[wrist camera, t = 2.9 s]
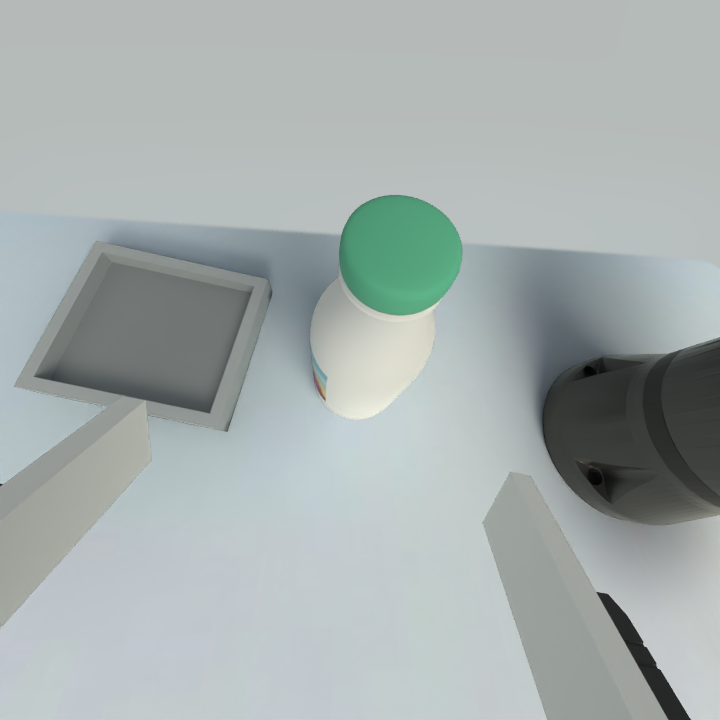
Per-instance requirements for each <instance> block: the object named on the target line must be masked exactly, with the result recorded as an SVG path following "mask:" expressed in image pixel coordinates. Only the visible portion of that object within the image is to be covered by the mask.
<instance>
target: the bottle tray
mask: <svg viewBox="0 0 720 720" xmlns="http://www.w3.org/2000/svg"><path fill="white" fill-rule="evenodd" d="M271 295H272V290H271V287H270V284H269V281H268V279H264V278H260V277H255V276H251V275H246V274H242V273H238V272H233V271H229V270H224V269H220V268H215V267H211V266H206V265H202V264H197V263H193V262H188V261H184V260H180V259H175V258H171V257H166V256H162V255H157V254H153V253H148V252H144V251H139V250H135V249H131V248H126V247H122V246H117V245H113V244H108V243H104V242H99V241H96V242H95V243H94V245H93V247H92V249H91V250H90V252H89V254H88V256H87V257H86V259H85V261H84V263H83V265H82V266H81V268H80V270H79V272H78V273H77V275H76V277H75V279H74V280H73V282H72V284H71V286H70V288H69V289H68V291H67V293H66V295H65V296H64V298H63V300H62V302H61V303H60V305H59V307H58V309H57V310H56V312H55V314H54V316H53V318H52V319H51V321H50V323H49V325H48V326H47V328H46V330H45V332H44V333H43V335H42V337H41V339H40V341H39V342H38V344H37V346H36V348H35V349H34V351H33V353H32V355H31V356H30V358H29V360H28V362H27V364H26V365H25V367H24V369H23V371H22V372H21V374H20V376H19V378H18V379H17V381H16V383H15V385H14V387H18V388H22V389H26V390H30V391H34V392H38V393H43V394H47V395H52V396H57V397H62V398H67V399H72V400H76V401H81V402H86V403H91V404H96V405H101V406H105V407H109V406H110V405H112V404H113V403H114V402H116V401H117V400H118V399H120V398H121V397H123V396H125V397H131V398H136V399H141V400H145V401H146V410H147V415H149V416H154V417H159V418H163V419H168V420H173V421H178V422H183V423H188V424H193V425H197V426H202V427H207V428H212V429H217V430H222V431H226V432H227V431H228V428H229V425H230V422H231V419H232V416H233V412H234V409H235V406H236V403H237V400H238V397H239V394H240V391H241V388H242V385H243V382H244V379H245V375H246V372H247V369H248V366H249V363H250V360H251V357H252V354H253V351H254V348H255V345H256V342H257V338H258V335H259V332H260V329H261V326H262V323H263V320H264V317H265V314H266V311H267V308H268V305H269V301H270V298H271Z"/></svg>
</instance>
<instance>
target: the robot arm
mask: <svg viewBox="0 0 720 720" xmlns="http://www.w3.org/2000/svg"><path fill="white" fill-rule="evenodd" d="M543 427H544V434H545V439H546V444H547V447H548V450H549V453H550V455H551V458H552V460H553V462H554V464H555V466H556V468H557V469H558V471H559V473H560V474H561V476H562V477H563V479H564V480H565V481H566V483H567V484H568V485H569V486H570V487H571V489H572V490H573V491H574V492H575V493H576V494H577V495H578V496H579V497H580V498H582V499H583V500H584V501H585V502H586V503H588V504H589V505H591V506H592V507H594V508H595V509H597V510H599V511H600V512H602V513H604V514H606V515H609V516H611V517H614V518H617V519H621V520H626V521H631V522H637V523H642V524H648V525H669V524H675V523H681V522H686V521H691V520H696V519H701V518H706V517H712V516H717V515H720V337H719V338H716V339H713V340H710V341H707V342H703V343H700V344H697V345H694V346H691V347H688V348H685V349H682V350H679V351H676V352H672V353H669V354H639V355H609V356H602V357H598V358H594V359H591V360H588V361H586V362H583V363H581V364H578V365H576V366H574V367H572V368H570V369H568V370H567V371H565V372H564V373H563V374H561V375H560V376H559V377H558V379H557V380H556V381H555V382H554V384H553V385H552V387H551V389H550V391H549V393H548V395H547V398H546V402H545V406H544V413H543ZM151 460H152V456H151V447H150V438H149V429H148V419H147V410H146V401H145V400H141V399H136V398H131V397H125V396H123V397H121V398H120V399H118V400H117V401H116V402H114V403H113V404H112V405H110V406H109V407H108V408H106V409H105V410H104V411H102V412H101V413H99V414H98V415H97V416H95V417H94V418H93V419H91V420H90V421H89V422H87V423H86V424H85V425H83V426H82V427H80V428H79V429H78V430H76V431H75V432H74V433H72V434H71V435H70V436H68V437H67V438H66V439H64V440H63V441H61V442H60V443H59V444H57V445H56V446H55V447H53V448H52V449H51V450H49V451H48V452H47V453H45V454H44V455H42V456H41V457H40V458H38V459H37V460H36V461H34V462H33V463H32V464H30V465H29V466H28V467H26V468H25V469H24V470H22V471H21V472H19V473H18V474H17V475H15V476H14V477H13V478H11V479H10V480H9V481H7V482H6V483H5V484H0V628H1V627H2V626H3V625H4V624H5V623H6V622H7V621H8V619H9V618H10V617H11V616H12V615H13V614H14V613H15V612H16V611H17V609H18V608H19V607H20V606H21V605H22V604H23V603H24V602H25V600H26V599H27V598H28V597H29V596H30V595H31V594H32V593H33V592H34V590H35V589H36V588H37V587H38V586H39V585H40V584H41V583H42V582H43V580H44V579H45V578H46V577H47V576H48V575H49V574H50V573H51V572H52V570H53V569H54V568H55V567H56V566H57V565H58V564H59V563H60V562H61V560H62V559H63V558H64V557H65V556H66V555H67V554H68V553H69V552H70V550H71V549H72V548H73V547H74V546H75V545H76V544H77V543H78V542H79V540H80V539H81V538H82V537H83V536H84V535H85V534H86V533H87V532H88V530H89V529H90V528H91V527H92V526H93V525H94V524H95V523H96V522H97V520H98V519H99V518H100V517H101V516H102V515H103V514H104V513H105V512H106V510H107V509H108V508H109V507H110V506H111V505H112V504H113V503H114V502H115V500H116V499H117V498H118V497H119V496H120V495H121V494H122V493H123V492H124V490H125V489H126V488H127V487H128V486H129V485H130V484H131V483H132V482H133V480H134V479H135V478H136V477H137V476H138V475H139V474H140V473H141V472H142V470H143V469H144V468H145V467H146V466H147V465H148V464H149V463H150V462H151ZM483 525H484V528H485V532H486V535H487V538H488V541H489V544H490V547H491V550H492V553H493V556H494V559H495V562H496V565H497V568H498V571H499V574H500V577H501V580H502V583H503V586H504V589H505V592H506V595H507V598H508V601H509V604H510V608H511V611H512V614H513V617H514V620H515V623H516V626H517V629H518V632H519V635H520V638H521V641H522V644H523V647H524V650H525V653H526V656H527V659H528V662H529V665H530V668H531V671H532V674H533V677H534V680H535V684H536V687H537V690H538V693H539V696H540V699H541V702H542V705H543V708H544V711H545V714H546V717H547V720H691V719H690V718H689V716H688V715H687V713H686V711H685V710H684V708H683V706H682V705H681V703H680V701H679V700H678V698H677V696H676V695H675V693H674V692H673V690H672V688H671V687H670V685H669V683H668V682H667V680H666V678H665V677H664V675H663V673H662V672H661V670H660V669H658V668H657V666H656V662H655V660H654V659H653V657H652V655H651V654H650V652H649V650H648V649H647V647H644V645H643V641H642V639H641V637H640V636H639V634H638V632H637V631H636V629H635V627H634V626H633V624H632V623H631V621H630V619H629V618H628V616H627V615H626V614H625V613H624V612H623V611H622V609H621V608H620V607H619V606H618V605H617V604H616V603H615V602H614V600H613V599H612V598H611V597H610V596H609V595H608V594H605V593H599V592H596V591H595V589H594V587H593V586H592V584H591V582H590V580H589V579H588V577H587V575H586V573H585V572H584V570H583V568H582V566H581V564H580V563H579V561H578V559H577V557H576V556H575V554H574V552H573V550H572V549H571V547H570V545H569V543H568V541H567V540H566V538H565V536H564V534H563V533H562V531H561V529H560V527H559V525H558V524H557V522H556V520H555V518H554V517H553V515H552V513H551V511H550V510H549V508H548V506H547V504H546V502H545V501H544V499H543V497H542V495H541V494H540V492H539V490H538V488H537V487H536V485H535V483H534V481H533V479H532V478H531V476H528V475H523V474H518V473H513V472H510V473H509V475H508V477H507V479H506V481H505V483H504V484H503V486H502V488H501V490H500V492H499V493H498V495H497V497H496V499H495V501H494V503H493V504H492V506H491V508H490V510H489V512H488V514H487V515H486V517H485V519H484V521H483Z"/></svg>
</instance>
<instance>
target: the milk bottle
mask: <svg viewBox="0 0 720 720" xmlns="http://www.w3.org/2000/svg"><path fill="white" fill-rule="evenodd" d="M461 261H462V244H461V240H460V237H459V234H458V232H457V230H456V228H455V227H454V225H453V224H452V222H451V221H450V220H449V219H448V218H447V217H446V215H444V214H443V213H442V212H441V211H440V210H438V209H437V208H436V207H434V206H433V205H431V204H429V203H427V202H425V201H422V200H420V199H417V198H413V197H408V196H401V195H389V196H382V197H378V198H375V199H372V200H370V201H368V202H366V203H364V204H362V205H361V206H360V207H359V208H357V209H356V210H355V211H354V212H353V213H352V215H351V216H350V217H349V219H348V221H347V223H346V225H345V227H344V229H343V232H342V236H341V242H340V251H339V269H338V271H339V277H338V278H336V279H335V280H334V281H333V282H332V283H331V284H330V285H329V286H328V287H327V289H326V290H325V291H324V293H323V294H322V295H321V297H320V299H319V301H318V303H317V305H316V307H315V310H314V313H313V317H312V322H311V328H310V349H311V358H312V367H313V375H314V382H315V387H316V390H317V393H318V395H319V397H320V399H321V401H322V402H323V403H324V405H325V406H326V407H327V408H328V409H329V410H331V411H332V412H334V413H335V414H337V415H339V416H342V417H344V418H348V419H365V418H369V417H372V416H374V415H376V414H378V413H379V412H381V411H382V410H384V409H385V408H386V407H387V406H388V405H389V404H390V403H391V402H392V401H393V400H394V399H396V398H397V397H398V396H399V395H400V394H401V393H402V392H403V391H404V390H405V389H406V388H407V387H408V386H409V385H410V384H411V382H412V381H413V380H414V379H415V378H416V377H417V375H418V374H419V373H420V372H421V370H422V369H423V367H424V366H425V364H426V362H427V360H428V358H429V356H430V354H431V351H432V348H433V344H434V339H435V328H436V325H435V315H434V310H433V309H434V308H435V307H436V306H437V305H438V304H439V302H440V301H441V299H442V297H443V296H444V295H445V293H446V292H447V291H448V290H449V288H450V287H451V285H452V283H453V282H454V280H455V278H456V277H457V275H458V272H459V269H460V266H461Z"/></svg>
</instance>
